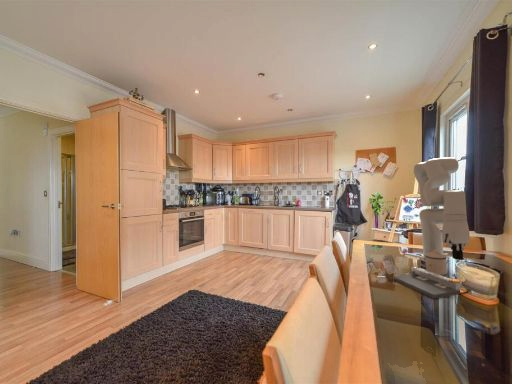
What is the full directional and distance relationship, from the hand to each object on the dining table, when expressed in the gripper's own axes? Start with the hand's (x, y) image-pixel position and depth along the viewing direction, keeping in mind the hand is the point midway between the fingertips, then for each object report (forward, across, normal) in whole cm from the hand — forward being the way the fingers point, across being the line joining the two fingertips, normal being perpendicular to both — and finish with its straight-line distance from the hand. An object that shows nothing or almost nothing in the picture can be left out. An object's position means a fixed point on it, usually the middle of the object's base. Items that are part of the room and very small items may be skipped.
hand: (457, 258), depth 101 cm
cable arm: (+11, +7, -6) cm, 14 cm away
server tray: (+13, +10, -7) cm, 18 cm away
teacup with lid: (+13, -8, -19) cm, 24 cm away
